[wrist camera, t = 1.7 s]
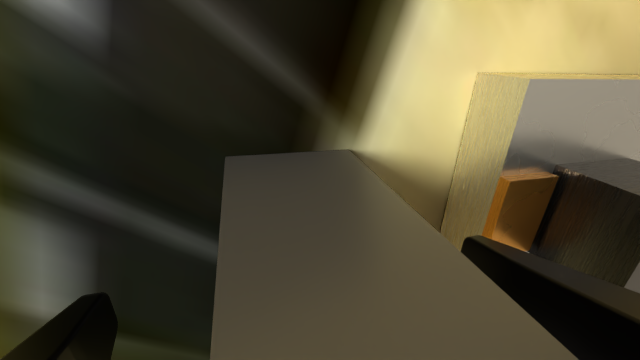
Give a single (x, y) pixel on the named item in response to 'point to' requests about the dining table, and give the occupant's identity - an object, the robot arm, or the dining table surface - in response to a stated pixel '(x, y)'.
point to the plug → (350, 273)
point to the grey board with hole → (553, 171)
